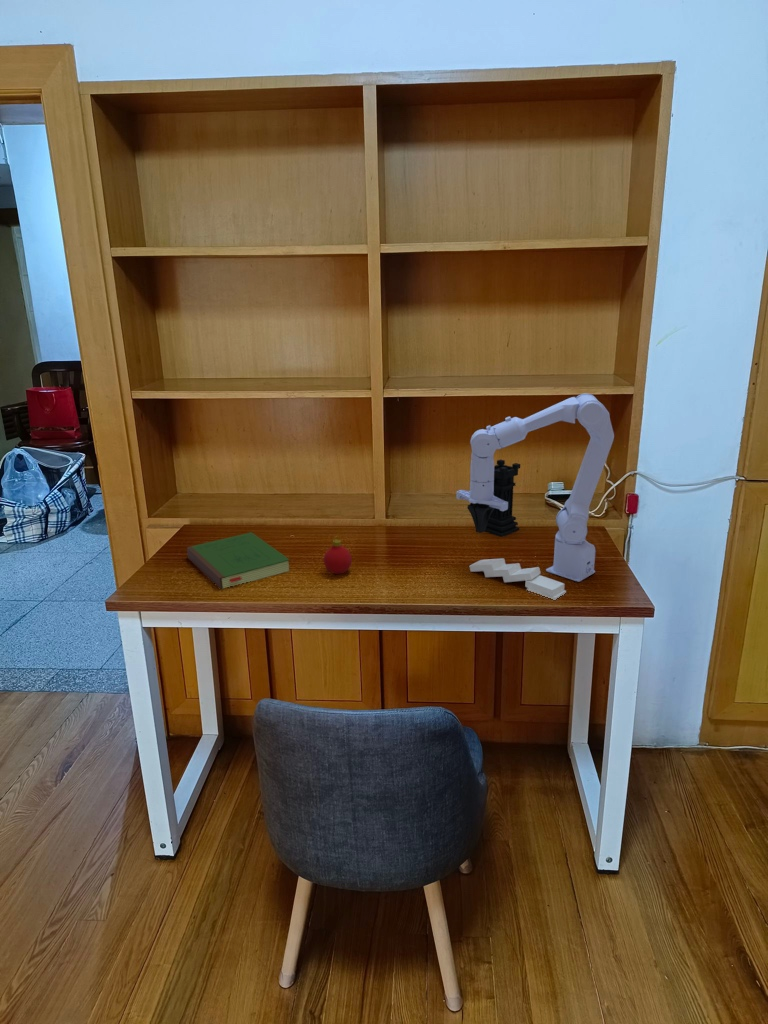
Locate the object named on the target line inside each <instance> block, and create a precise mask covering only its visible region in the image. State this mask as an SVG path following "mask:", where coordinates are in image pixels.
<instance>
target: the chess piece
mask: <svg viewBox="0 0 768 1024" xmlns="http://www.w3.org/2000/svg"><path fill="white" fill-rule="evenodd" d="M505 461H506V460H504V459H497V460H496V464H494V492H493V496H495V497H497V498H499V499H501V500H504V501H506V502H508V509H507V510H505V511H500V509H497V508H495V509H494V510H493V512H492V514H491V515H490V517H489V520H488V523H487V526H486V530H485V531H484V532H485V533H489V534H492V535H494V536H496V537H497V536H498V537H500V538H503V537H505V536H508V535H510V534H513V533H516V532H518V531H520V527H519V526H518V523H519V522H517V521H516V520H517V517H516V516H514V515H513V503H514V487H515V486H516V482H514V481H515V477H516V476H518V475H519V469H521V463H518V462H515V463H512V464H511V465H512V466H511V465H507V464H506V462H505Z"/></svg>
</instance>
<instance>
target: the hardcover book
mask: <svg viewBox="0 0 768 1024" xmlns="http://www.w3.org/2000/svg"><path fill="white" fill-rule="evenodd" d="M186 551H187V559H188V560H189V561H190V562H191V563H193V565H194V566H195V567H196V568H197V569H199V570H200V572H202V573H203V575H204V576H206V577H207V578H208V579H209V580H210V581H211V582H212V583H213V582H214V583H215V584H216V585H217V586H218V587H219V588H220V589H223V588H225V587H229V588H231V587H230V586H233V587H235V586H234V585H237V586H239V585H238V584H240V585H242V583H244V584H247V583H246V582H248V583H251V582H254V581H258V580H261V579H265V578H268V577H272V576H276V575H280V574H283V573H287V572H290V565H289V564H290V563H289V561H291V560H290V559H289V557H287V556H286V555H284V554H282V553H281V552H280V551H278V550H277V549H275V548H274V547H273V546H272V545H270V544H268V543H267V542H266V541H264V540H263V539H261V537H259V536H257V535H256V534H255V533H253V532H251V531H250V532H246V533H242V534H237V535H234V536H229V537H226V538H221V539H217V540H212V541H207V542H203V543H199V544H196V545H191V546H187V547H186ZM250 581H251V582H250ZM214 583H213V584H214ZM215 584H214V585H215ZM216 585H215V586H216ZM217 586H216V587H217ZM218 587H217V588H218ZM219 588H218V589H219ZM220 589H219V590H220ZM223 590H224V589H223Z"/></svg>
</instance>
